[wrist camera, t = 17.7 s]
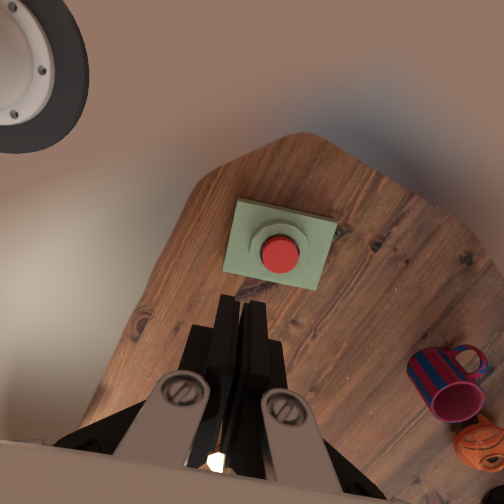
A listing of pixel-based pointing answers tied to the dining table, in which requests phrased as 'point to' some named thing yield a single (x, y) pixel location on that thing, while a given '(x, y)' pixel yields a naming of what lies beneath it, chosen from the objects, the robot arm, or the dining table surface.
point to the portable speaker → (497, 496)
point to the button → (280, 254)
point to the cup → (448, 383)
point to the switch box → (278, 224)
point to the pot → (481, 445)
